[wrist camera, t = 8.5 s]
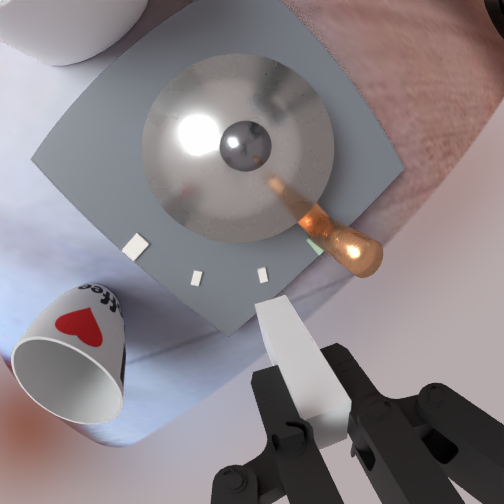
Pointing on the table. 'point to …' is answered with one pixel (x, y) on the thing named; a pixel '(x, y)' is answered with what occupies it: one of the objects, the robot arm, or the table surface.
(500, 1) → the french press
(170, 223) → the board
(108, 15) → the cup
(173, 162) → the dial
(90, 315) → the cup
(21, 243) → the table surface
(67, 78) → the table surface
